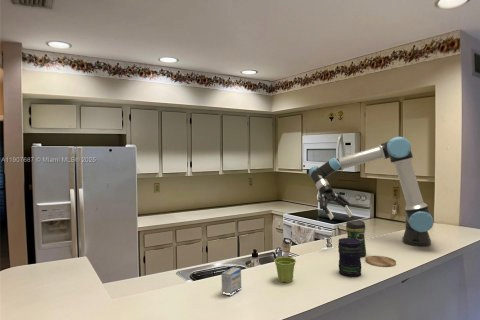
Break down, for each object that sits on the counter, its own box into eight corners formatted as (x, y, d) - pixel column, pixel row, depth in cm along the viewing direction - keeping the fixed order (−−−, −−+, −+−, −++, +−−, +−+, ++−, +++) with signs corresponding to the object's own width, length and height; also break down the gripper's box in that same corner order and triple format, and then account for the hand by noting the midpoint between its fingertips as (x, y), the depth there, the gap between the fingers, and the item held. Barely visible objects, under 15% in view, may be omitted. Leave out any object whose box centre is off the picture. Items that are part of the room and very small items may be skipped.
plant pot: (282, 286, 133) (282, 265, 133) (270, 278, 141) (270, 259, 141) (300, 281, 137) (300, 261, 137) (287, 274, 146) (287, 255, 146)
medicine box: (231, 297, 124) (230, 274, 124) (221, 294, 126) (221, 272, 126) (241, 289, 131) (241, 268, 130) (232, 287, 133) (232, 266, 133)
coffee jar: (358, 252, 177) (358, 218, 177) (368, 256, 169) (368, 221, 169) (343, 254, 174) (343, 220, 174) (353, 258, 166) (352, 222, 166)
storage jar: (345, 268, 153) (344, 236, 153) (365, 273, 146) (364, 240, 146) (334, 273, 146) (334, 240, 146) (355, 279, 139) (354, 245, 139)
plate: (382, 256, 169) (382, 254, 169) (402, 265, 155) (402, 263, 155) (359, 259, 165) (359, 256, 165) (377, 268, 152) (377, 265, 152)
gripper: (337, 190, 202) (355, 218, 188) (304, 193, 192) (320, 223, 178) (343, 183, 197) (362, 211, 183) (309, 185, 187) (327, 215, 173)
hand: (341, 217), depth 181 cm, fingers open, 13 cm apart
